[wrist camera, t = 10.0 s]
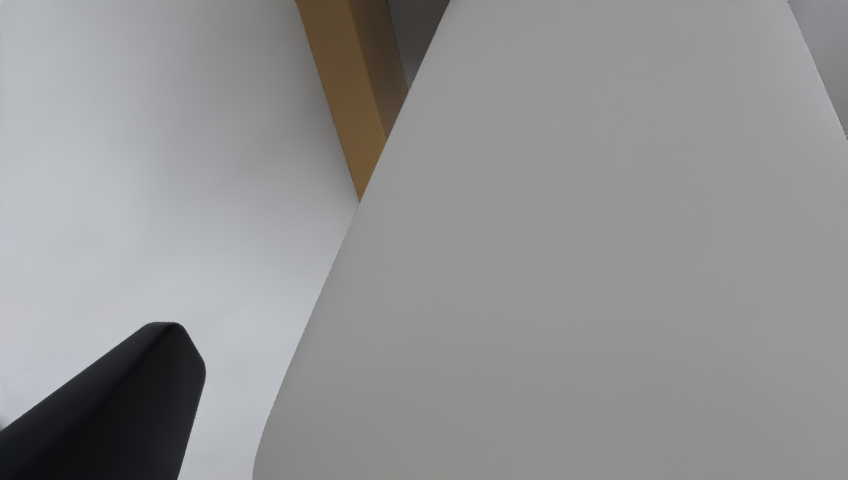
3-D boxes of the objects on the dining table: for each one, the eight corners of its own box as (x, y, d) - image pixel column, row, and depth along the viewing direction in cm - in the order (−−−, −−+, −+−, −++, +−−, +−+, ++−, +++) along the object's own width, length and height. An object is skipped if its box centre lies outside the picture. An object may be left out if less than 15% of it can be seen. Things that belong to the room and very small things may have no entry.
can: (778, -177, 11) (1342, 599, 2) (789, 161, 15) (1031, 956, 6) (400, -65, 14) (-12, 540, 5) (491, 203, 17) (355, 825, 8)
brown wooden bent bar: (1711, -498, 8) (1964, -523, 6) (1245, 223, 14) (1319, 296, 12) (285, -195, 13) (240, -169, 11) (407, 242, 19) (388, 296, 17)
